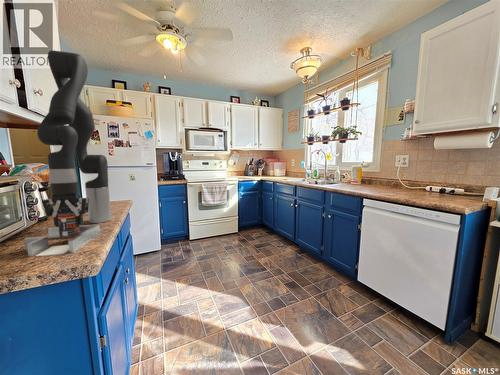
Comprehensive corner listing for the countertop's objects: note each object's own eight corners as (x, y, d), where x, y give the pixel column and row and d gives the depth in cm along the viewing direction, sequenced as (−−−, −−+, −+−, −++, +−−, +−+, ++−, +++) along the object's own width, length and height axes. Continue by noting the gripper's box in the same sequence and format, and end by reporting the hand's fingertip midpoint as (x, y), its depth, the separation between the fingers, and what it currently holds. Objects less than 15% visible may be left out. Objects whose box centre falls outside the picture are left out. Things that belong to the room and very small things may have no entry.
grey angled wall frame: (51, 237, 82) (50, 227, 81) (100, 233, 86) (99, 224, 85) (9, 257, 64) (8, 245, 64) (73, 252, 68) (72, 240, 68)
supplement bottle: (68, 239, 74) (64, 209, 73) (55, 238, 76) (51, 208, 74) (84, 233, 80) (81, 205, 79) (72, 232, 82) (69, 204, 80)
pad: (52, 247, 73) (52, 246, 72) (77, 245, 74) (77, 244, 74) (35, 256, 65) (35, 255, 65) (63, 254, 67) (63, 253, 67)
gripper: (91, 179, 80) (96, 221, 83) (48, 180, 77) (53, 224, 80) (80, 181, 73) (85, 227, 75) (32, 182, 70) (38, 230, 72)
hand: (69, 225), depth 77 cm, fingers closed on supplement bottle, 6 cm apart
